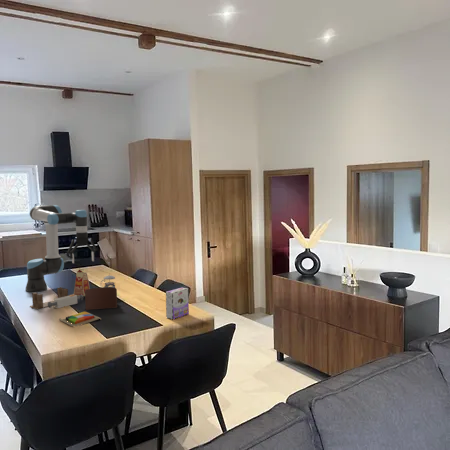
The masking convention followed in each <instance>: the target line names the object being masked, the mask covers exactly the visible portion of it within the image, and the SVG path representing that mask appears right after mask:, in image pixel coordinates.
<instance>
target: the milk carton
mask: <svg viewBox="0 0 450 450" xmlns="http://www.w3.org/2000/svg"><path fill="white" fill-rule="evenodd" d="M88 276H89V275H88V272H87V271H86V270H85V268H78V271H76V276H75V281H74V282H75V283H74V289H73V294H74V295H76V296H77V297H79V295H83V297H85V290H87V289H91V288H90V287H91V286H90V281H89V277H88Z"/></svg>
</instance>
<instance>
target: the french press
mask: <svg viewBox="0 0 450 450" xmlns="http://www.w3.org/2000/svg"><path fill="white" fill-rule="evenodd" d="M110 264H111V262H110V261H109V262H107V265H110ZM114 279H116V276H114V275H110V274H109V275H106V276H104V277H103V279H102V280H101V281H100V283H99V284H100V286H102V283H103V282H104V285H103V287H113V288H116V284H115V283H116V282H113V281H110V280H114ZM106 280H109V282H106Z"/></svg>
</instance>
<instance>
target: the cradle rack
mask: <svg viewBox="0 0 450 450" xmlns="http://www.w3.org/2000/svg"><path fill="white" fill-rule="evenodd" d="M56 290H57V292H56V293H57V298H61V297H65V296H69V292H68V291H69V290H68V288H63V287H60V286H59V287H57V289H56ZM43 297H44V295H43V294H42V293H38V292H31V300H32V305H29V308H31V309H35V310H40V309H45V308H49V307H48V302H51V303H53V302H54V300H49V301H47V302H46V301H45V302H44V298H43ZM52 307H55V305H53V306H52Z"/></svg>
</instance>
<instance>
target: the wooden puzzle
mask: <svg viewBox="0 0 450 450" xmlns="http://www.w3.org/2000/svg"><path fill="white" fill-rule="evenodd" d="M99 319H100V321H101V320H102V318H101V317H99V316H97V315H94V314H93V313H90V312H87V311H82V312H78V313H75V314H73V315H68V316H65V318H59V319H58V320H59V321H60V322H63V323H65V324H67V325H68V326H70V327H72V326H75V327H78V326H77V325H79V326H82V325H81V324H83V325H86V324H89V323H91V322H95V321H97V320H98V321H99ZM67 321H68V322H67ZM71 323H72V324H71ZM85 323H86V324H85Z"/></svg>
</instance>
